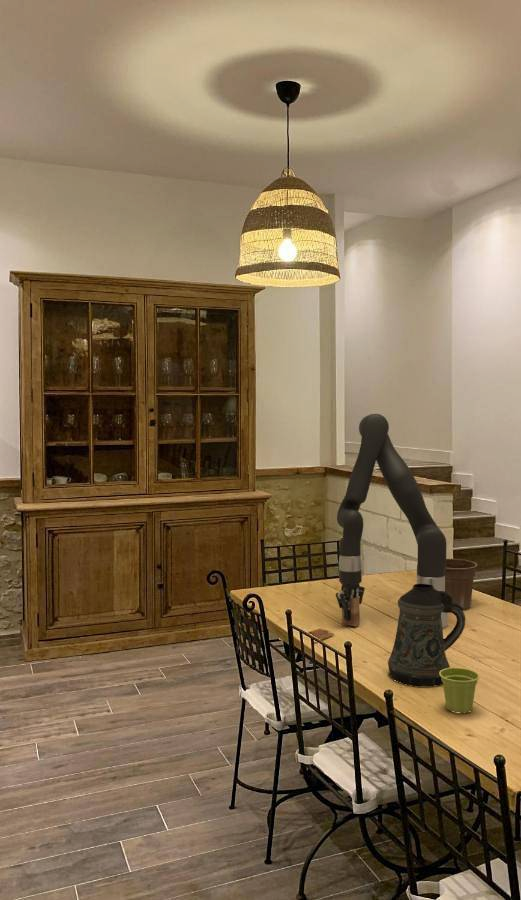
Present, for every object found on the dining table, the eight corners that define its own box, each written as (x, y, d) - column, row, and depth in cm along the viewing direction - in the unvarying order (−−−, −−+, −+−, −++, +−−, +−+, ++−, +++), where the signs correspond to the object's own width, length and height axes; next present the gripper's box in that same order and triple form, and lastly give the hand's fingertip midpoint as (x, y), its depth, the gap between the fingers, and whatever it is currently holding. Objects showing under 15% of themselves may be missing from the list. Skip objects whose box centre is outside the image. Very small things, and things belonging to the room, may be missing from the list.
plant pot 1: (475, 614, 260) (476, 569, 259) (428, 610, 265) (429, 566, 264) (477, 602, 275) (478, 560, 274) (433, 599, 280) (433, 557, 279)
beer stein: (376, 670, 205) (376, 581, 203) (435, 661, 212) (435, 575, 210) (409, 691, 189) (410, 595, 188) (471, 680, 196) (472, 588, 195)
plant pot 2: (436, 714, 175) (436, 678, 175) (441, 699, 184) (441, 665, 184) (477, 719, 172) (477, 683, 172) (480, 704, 181) (480, 669, 180)
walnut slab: (359, 624, 246) (359, 597, 245) (354, 626, 244) (354, 599, 243) (347, 621, 249) (347, 595, 249) (342, 623, 247) (341, 597, 246)
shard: (314, 645, 228) (314, 640, 228) (295, 640, 233) (295, 635, 233) (335, 637, 236) (335, 631, 236) (316, 632, 241) (316, 627, 241)
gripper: (347, 573, 238) (347, 626, 239) (371, 566, 248) (372, 616, 249) (328, 570, 243) (329, 622, 244) (353, 563, 253) (353, 612, 254)
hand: (350, 619), depth 246 cm, fingers closed on walnut slab, 3 cm apart
